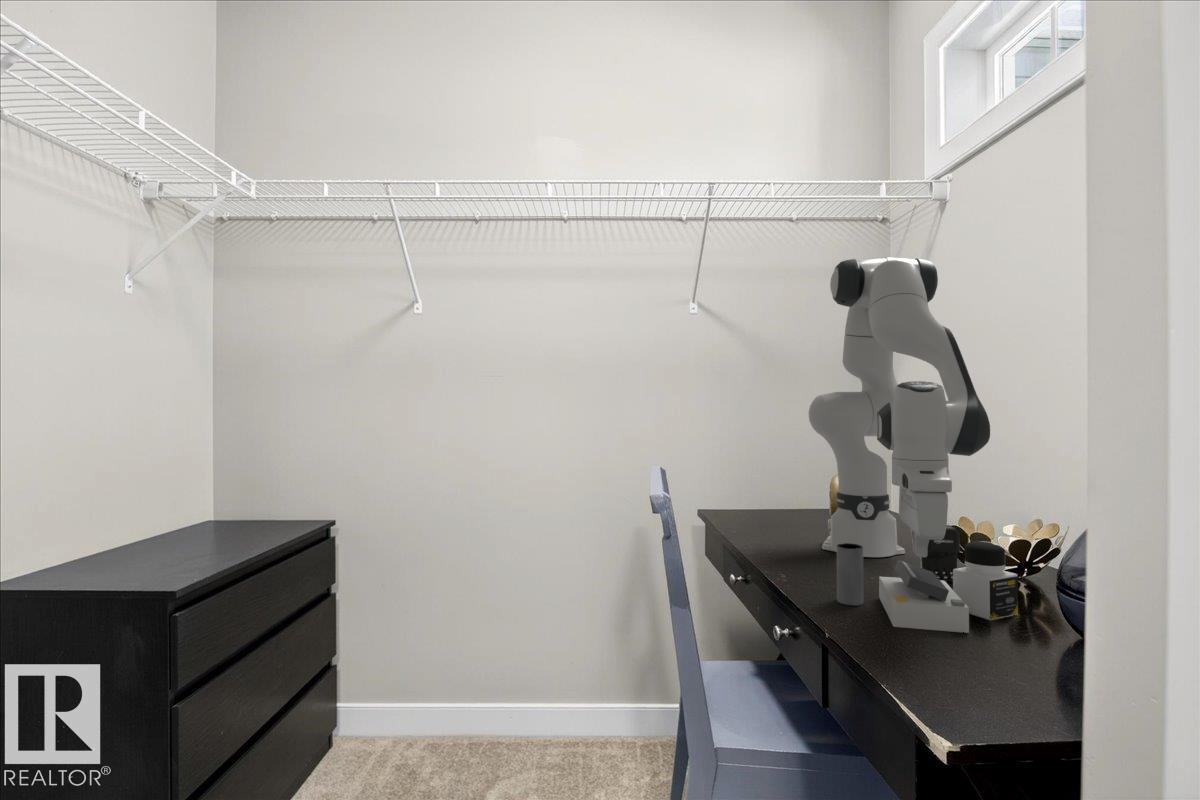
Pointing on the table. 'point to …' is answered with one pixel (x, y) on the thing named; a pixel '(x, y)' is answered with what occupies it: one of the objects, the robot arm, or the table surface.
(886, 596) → the panel
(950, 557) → the battery charger
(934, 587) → the dark gray slim case
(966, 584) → the medicine bottle
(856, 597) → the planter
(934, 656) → the table surface
